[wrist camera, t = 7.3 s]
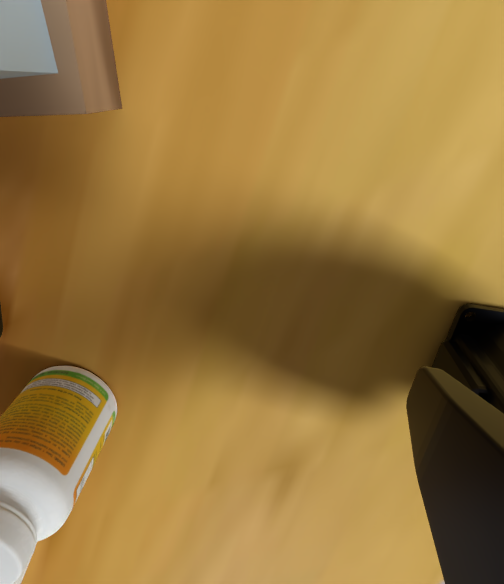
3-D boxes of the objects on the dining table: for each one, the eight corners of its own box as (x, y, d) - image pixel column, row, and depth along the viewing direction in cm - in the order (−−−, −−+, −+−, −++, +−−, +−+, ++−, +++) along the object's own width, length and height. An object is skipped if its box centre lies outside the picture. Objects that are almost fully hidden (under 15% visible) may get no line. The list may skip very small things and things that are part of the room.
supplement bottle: (15, 367, 25) (-126, 519, 16) (102, 357, 24) (4, 509, 16) (49, 437, 27) (-59, 604, 19) (130, 429, 27) (57, 598, 18)
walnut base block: (97, -65, 16) (45, -108, 13) (123, 108, 19) (86, 113, 15) (-55, -56, 17) (-147, -95, 13) (-9, 112, 19) (-76, 119, 16)
